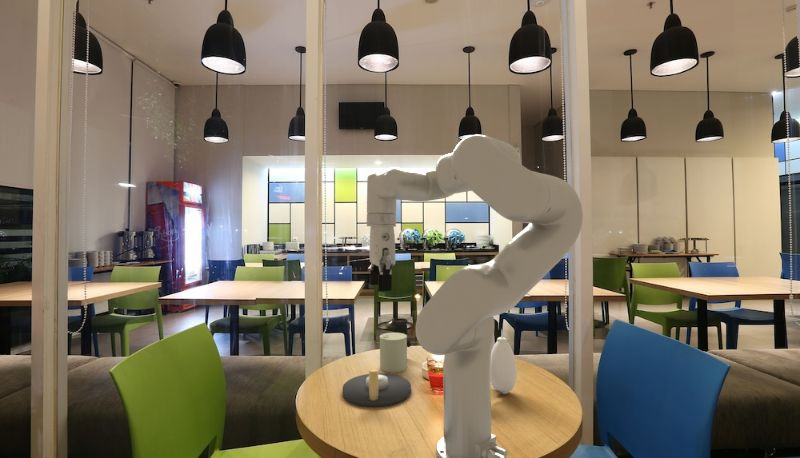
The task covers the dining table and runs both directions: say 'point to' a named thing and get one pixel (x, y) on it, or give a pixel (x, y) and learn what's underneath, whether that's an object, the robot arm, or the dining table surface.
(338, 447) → the dining table surface
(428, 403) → the dining table surface
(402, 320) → the scope
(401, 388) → the wheel
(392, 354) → the can
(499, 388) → the sauce bottle
